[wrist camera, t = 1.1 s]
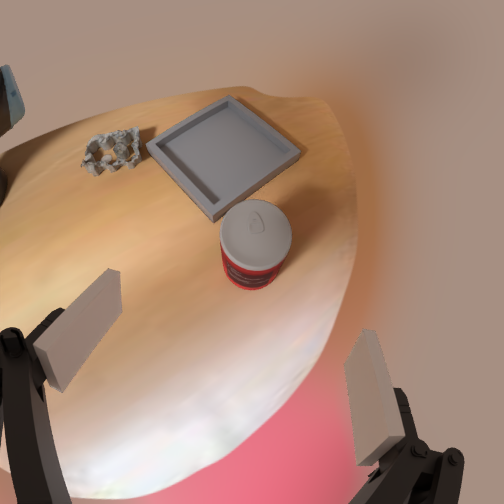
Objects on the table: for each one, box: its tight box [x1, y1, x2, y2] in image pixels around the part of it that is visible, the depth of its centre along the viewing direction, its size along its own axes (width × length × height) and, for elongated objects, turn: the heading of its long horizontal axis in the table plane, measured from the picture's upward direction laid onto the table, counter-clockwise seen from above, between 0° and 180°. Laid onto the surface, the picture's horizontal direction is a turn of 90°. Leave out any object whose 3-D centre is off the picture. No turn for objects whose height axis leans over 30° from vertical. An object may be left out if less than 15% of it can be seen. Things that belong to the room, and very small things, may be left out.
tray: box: [146, 95, 301, 223], centre depth 46 cm, size 18×18×2 cm
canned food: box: [220, 199, 292, 290], centre depth 36 cm, size 8×8×11 cm
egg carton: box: [81, 126, 142, 176], centre depth 44 cm, size 11×8×4 cm
